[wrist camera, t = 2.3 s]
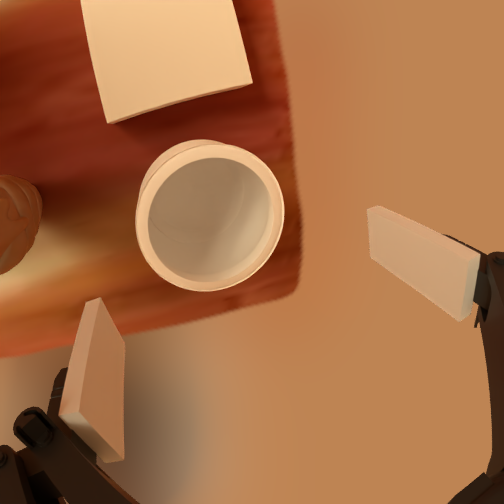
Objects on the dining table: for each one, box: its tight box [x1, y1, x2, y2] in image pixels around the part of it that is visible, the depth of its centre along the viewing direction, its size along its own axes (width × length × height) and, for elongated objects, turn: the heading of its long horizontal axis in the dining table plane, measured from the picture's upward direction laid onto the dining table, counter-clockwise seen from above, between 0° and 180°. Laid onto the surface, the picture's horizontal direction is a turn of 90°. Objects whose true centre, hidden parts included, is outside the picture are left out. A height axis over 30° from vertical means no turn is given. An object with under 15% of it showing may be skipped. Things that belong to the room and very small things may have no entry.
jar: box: [135, 140, 284, 291], centre depth 28 cm, size 11×10×15 cm
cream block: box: [81, 0, 253, 124], centre depth 26 cm, size 14×14×5 cm
